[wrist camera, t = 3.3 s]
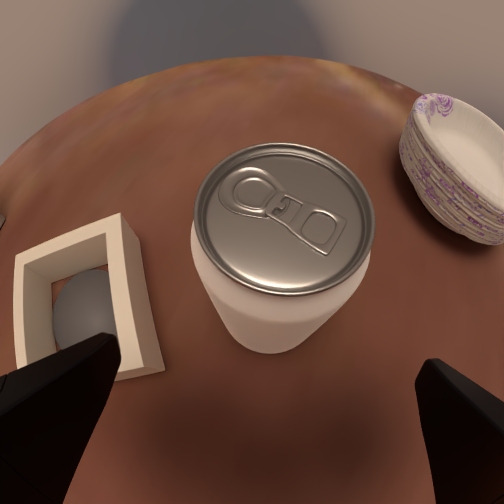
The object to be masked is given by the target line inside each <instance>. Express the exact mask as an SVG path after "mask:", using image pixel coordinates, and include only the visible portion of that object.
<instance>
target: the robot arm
mask: <svg viewBox="0 0 504 504" xmlns="http://www.w3.org/2000/svg"><path fill="white" fill-rule="evenodd" d="M120 364H121V353H120V349H119V345H118V340H117V337H116V336H115V335H114V334H111V333H107V332H101V333H98V334H96V335H94V336H92V337H90V338H87V339H85V340H83V341H81V342H78V343H76V344H74V345H72V346H69V347H67V348H65V349H63V350H60V351H58V352H56V353H54V354H51V355H49V356H47V357H44V358H42V359H40V360H38V361H35V362H33V363H31V364H29V365H26V366H24V367H22V368H19V369H17V370H15V371H12V372H10V373H8V375H7V374H5V375H3V376H1V377H0V504H63V501H64V498H65V496H66V493H67V491H68V488H69V486H70V483H71V481H72V478H73V476H74V474H75V471H76V469H77V466H78V464H79V462H80V459H81V457H82V455H83V453H84V450H85V448H86V446H87V444H88V441H89V439H90V437H91V435H92V433H93V430H94V428H95V426H96V424H97V422H98V420H99V418H100V415H101V413H102V411H103V409H104V407H105V405H106V402H107V400H108V397H109V394H110V391H111V389H112V386H113V383H114V380H115V378H116V375H117V372H118V369H119V367H120ZM415 390H416V396H417V402H418V408H419V415H420V422H421V428H422V432H423V437H424V441H425V445H426V450H427V454H428V459H429V464H430V469H431V475H432V480H433V486H434V493H435V500H436V504H504V402H503V401H501V400H500V399H498V398H497V397H495V396H494V395H492V394H491V393H490V392H488V391H487V390H485V389H484V388H482V387H481V386H479V385H478V384H476V383H475V382H473V381H472V380H470V379H469V378H467V377H466V376H464V375H463V374H461V373H460V372H458V371H457V370H455V369H454V368H452V367H451V366H449V365H448V364H446V363H445V362H443V361H442V360H440V359H438V358H434V359H427V360H426V361H425V362H424V364H423V366H422V368H421V370H420V372H419V374H418V376H417V378H416V380H415Z"/></svg>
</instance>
